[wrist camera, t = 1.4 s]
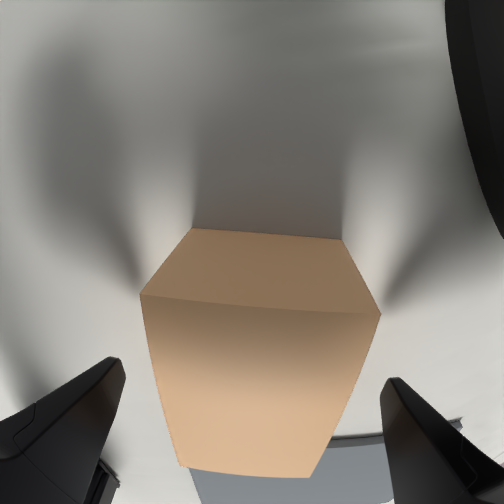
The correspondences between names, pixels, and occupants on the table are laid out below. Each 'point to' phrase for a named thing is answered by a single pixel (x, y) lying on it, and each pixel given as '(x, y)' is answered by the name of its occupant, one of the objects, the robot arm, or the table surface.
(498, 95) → the wireless charger
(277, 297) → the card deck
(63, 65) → the table surface
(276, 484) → the mat
